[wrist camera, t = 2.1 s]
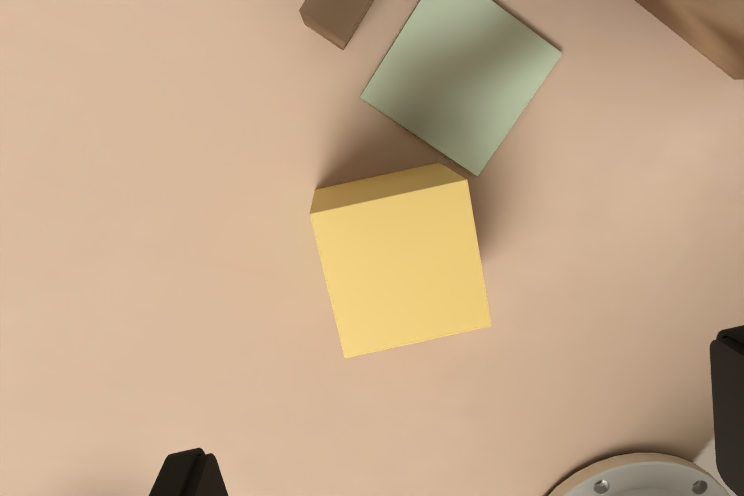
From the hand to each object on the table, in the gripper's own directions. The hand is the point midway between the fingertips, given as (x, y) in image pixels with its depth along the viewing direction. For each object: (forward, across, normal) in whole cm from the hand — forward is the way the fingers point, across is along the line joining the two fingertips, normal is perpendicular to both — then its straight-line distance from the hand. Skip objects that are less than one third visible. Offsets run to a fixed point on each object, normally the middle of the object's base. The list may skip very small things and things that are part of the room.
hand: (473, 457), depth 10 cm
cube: (+18, 0, 0) cm, 18 cm away
